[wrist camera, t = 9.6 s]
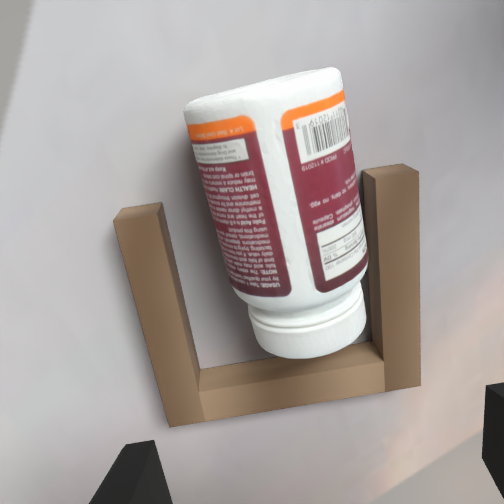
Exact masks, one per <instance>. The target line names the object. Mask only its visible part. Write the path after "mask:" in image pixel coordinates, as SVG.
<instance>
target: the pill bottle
mask: <svg viewBox="0 0 504 504" xmlns="http://www.w3.org/2000/svg"><path fill="white" fill-rule="evenodd" d="M184 117H185V121H186V124H187V127H188V132H189V135H190V139H191V143H192V147H193V151H194V154H195V158H196V161H197V164H198V168H199V171H200V175H201V179H202V182H203V186H204V189H205V193H206V197H207V200H208V204H209V208H210V211H211V214H212V218H213V221H214V225H215V229H216V232H217V236H218V240H219V243H220V247H221V250H222V254H223V258H224V261H225V265H226V268H227V272H228V276H229V280H230V283H231V285H232V287H233V289H234V291H235V292H236V294H237V295H238V296H239V297H240V298H241V299H242V300H244V301H245V302H246V303H248V309H249V310H248V314H249V317H250V320H251V323H252V326H253V329H254V333H255V336H256V339H257V341H258V343H259V344H260V346H261V347H262V348H263V349H265V350H266V351H267V352H269V353H271V354H274V355H276V356H280V357H284V358H290V359H306V358H314V357H319V356H324V355H327V354H330V353H333V352H335V351H338V350H340V349H342V348H344V347H346V346H347V345H349V344H351V343H352V342H353V341H354V340H355V339H356V338H357V337H358V336H359V335H360V334H361V333H362V331H363V329H364V327H365V323H366V311H365V304H364V298H363V291H362V288H361V283H360V280H361V279H362V277H363V276H364V274H365V271H366V269H367V264H368V258H369V256H368V248H367V243H366V237H365V232H364V225H363V218H362V211H361V204H360V198H359V191H358V185H357V179H356V171H355V164H354V156H353V151H352V144H351V138H350V129H349V121H348V115H347V109H346V104H345V97H344V91H343V83H342V77H341V73H340V72H339V70H337V69H336V68H333V67H328V68H323V69H316V70H310V71H304V72H299V73H294V74H289V75H285V76H281V77H277V78H273V79H269V80H265V81H262V82H258V83H255V84H251V85H247V86H243V87H239V88H236V89H232V90H228V91H224V92H220V93H216V94H212V95H208V96H205V97H201V98H199V99H195V100H193V101H191V102H189V103H188V104H187V105H186V107H185V109H184Z"/></svg>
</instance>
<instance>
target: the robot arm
mask: <svg viewBox="0 0 504 504" xmlns="http://www.w3.org/2000/svg"><path fill="white" fill-rule="evenodd" d="M482 459H483V461H484V463H485V465H486V466H487V468H488V470H489V472H490V474H491V476H492V478H493V480H494V482H495V484H496V486H497V487H498V489H499V491H500V493H501V495H502V497H503V498H504V383H497V384H491V385H486V392H485V410H484V428H483V447H482ZM89 504H173V503H172V500H171V496H170V493H169V489H168V486H167V482H166V479H165V476H164V472H163V469H162V465H161V462H160V459H159V455H158V452H157V448H156V445H155V442H154V440H150V441H144V442H138V443H132V444H126V445H125V446H124V448H123V449H122V450H121V452H120V454H119V455H118V457H117V459H116V460H115V462H114V464H113V465H112V467H111V468H110V470H109V472H108V473H107V475H106V477H105V478H104V480H103V482H102V483H101V485H100V487H99V488H98V490H97V491H96V493H95V495H94V496H93V498H92V499H91V501H90V503H89Z"/></svg>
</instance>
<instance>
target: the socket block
mask: <svg viewBox="0 0 504 504" xmlns="http://www.w3.org/2000/svg"><path fill="white" fill-rule="evenodd" d="M362 172H363V190H364V208H365V225H366V243H367V248H368V256H369V258H368V279H369V297H370V315H371V333H372V341H370V342H364V343H358V344H352V345H347V346H346V347H344V348H342V349H340V350H338V351H335V352H333V353H330V354H327V355H324V356H319V357H314V358H306V359H290V358H284V357H280V356H279V357H273V358H267V359H261V360H255V361H249V362H242V363H236V364H230V365H224V366H218V367H212V368H206V369H200V367H199V362H198V358H197V353H196V349H195V345H194V340H193V336H192V331H191V327H190V323H189V318H188V314H187V309H186V305H185V301H184V296H183V292H182V287H181V283H180V279H179V274H178V270H177V265H176V261H175V257H174V252H173V248H172V243H171V239H170V235H169V230H168V226H167V222H166V217H165V213H164V208H163V204H162V202H160V203H153V204H147V205H141V206H135V207H128V208H122V209H121V210H120V212H119V213H118V214H117V216H116V217H115V219H114V220H113V223H114V226H115V230H116V234H117V237H118V241H119V245H120V248H121V252H122V256H123V259H124V263H125V267H126V270H127V274H128V278H129V281H130V285H131V288H132V292H133V296H134V299H135V303H136V307H137V310H138V314H139V318H140V321H141V325H142V329H143V332H144V336H145V340H146V343H147V347H148V351H149V354H150V358H151V362H152V365H153V369H154V373H155V376H156V380H157V384H158V387H159V391H160V395H161V398H162V402H163V406H164V409H165V413H166V417H167V420H168V424H169V427H175V426H181V425H187V424H193V423H199V422H205V421H212V420H218V419H224V418H230V417H236V416H242V415H248V414H254V413H260V412H266V411H272V410H278V409H284V408H290V407H296V406H302V405H308V404H314V403H320V402H326V401H332V400H338V399H344V398H351V397H357V396H363V395H369V394H375V393H381V392H387V391H393V390H399V389H405V388H411V387H417V386H421V348H420V241H419V171H417V170H415V169H413V168H410V167H408V166H406V165H404V164H396V165H390V166H384V167H378V168H371V169H365V170H362Z"/></svg>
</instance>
